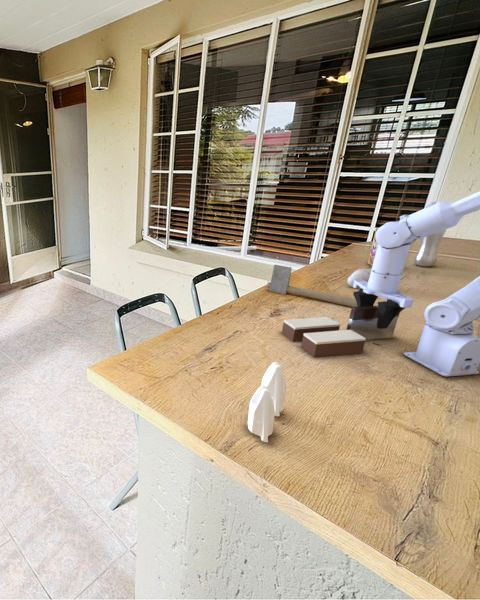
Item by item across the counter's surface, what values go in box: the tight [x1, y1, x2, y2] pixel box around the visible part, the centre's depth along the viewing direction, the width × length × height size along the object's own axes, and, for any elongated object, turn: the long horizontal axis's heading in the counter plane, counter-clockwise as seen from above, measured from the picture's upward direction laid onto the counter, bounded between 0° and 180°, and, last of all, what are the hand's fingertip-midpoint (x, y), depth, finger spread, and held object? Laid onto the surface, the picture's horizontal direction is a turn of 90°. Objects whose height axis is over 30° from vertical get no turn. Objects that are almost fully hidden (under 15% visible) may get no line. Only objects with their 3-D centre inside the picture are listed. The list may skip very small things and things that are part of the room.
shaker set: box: [246, 361, 287, 443], centre depth 62 cm, size 12×4×11 cm, turn 139°
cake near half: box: [300, 329, 367, 358], centre depth 85 cm, size 5×12×4 cm, turn 94°
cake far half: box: [281, 316, 341, 342], centre depth 92 cm, size 5×12×4 cm, turn 94°
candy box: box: [367, 227, 380, 267], centre depth 141 cm, size 9×4×15 cm, turn 160°
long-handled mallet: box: [266, 264, 357, 308], centre depth 114 cm, size 10×2×30 cm
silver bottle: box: [413, 229, 447, 267], centre depth 138 cm, size 6×7×20 cm
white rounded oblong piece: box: [346, 268, 372, 288], centre depth 125 cm, size 6×6×15 cm
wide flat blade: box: [345, 305, 401, 341], centre depth 88 cm, size 1×12×9 cm, turn 93°
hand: (372, 323), depth 88 cm, fingers open, 5 cm apart
